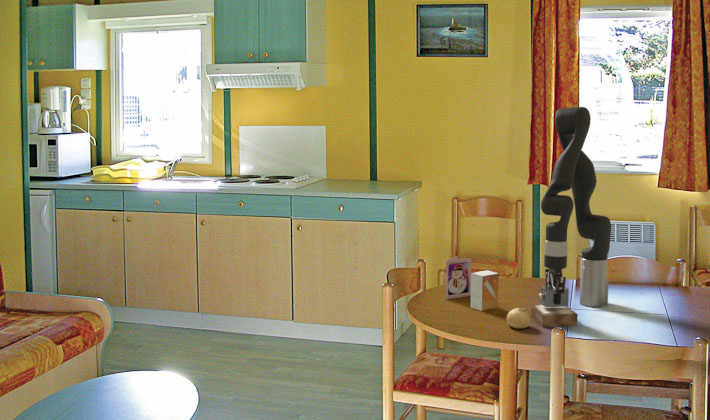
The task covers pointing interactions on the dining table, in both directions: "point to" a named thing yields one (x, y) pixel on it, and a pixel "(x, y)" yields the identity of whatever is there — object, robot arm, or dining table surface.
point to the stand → (553, 316)
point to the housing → (552, 297)
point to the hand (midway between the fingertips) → (554, 301)
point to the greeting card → (458, 277)
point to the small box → (484, 290)
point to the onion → (518, 318)
